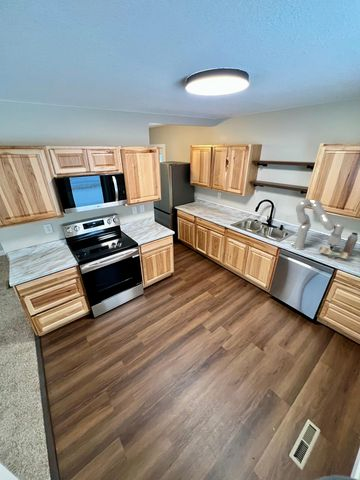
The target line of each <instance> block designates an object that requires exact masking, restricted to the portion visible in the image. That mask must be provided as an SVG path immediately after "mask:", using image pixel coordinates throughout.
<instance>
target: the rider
mask: <svg viewBox="0 0 360 480" xmlns="http://www.w3.org/2000/svg"><path fill="white" fill-rule="evenodd" d="M332 250H333V252H338V253H339V251H341V247H339V246H335V247H334V248H333V249H332Z"/></svg>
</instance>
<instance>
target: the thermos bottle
mask: <svg viewBox="0 0 360 480" xmlns="http://www.w3.org/2000/svg"><path fill="white" fill-rule="evenodd" d="M358 235H359V234H358V233H357V232H351V234H350V235H349V236H348V237H347V240H346V242H345V245H344V247H343V250H342V252H345V253H348V257H349V258H350V257H351V256H352V253H353V251H354V249H355V246H356V244H357V242H358V239H359V238H358Z"/></svg>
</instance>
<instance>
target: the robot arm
mask: <svg viewBox="0 0 360 480" xmlns="http://www.w3.org/2000/svg"><path fill="white" fill-rule="evenodd" d="M308 207H309V208H311V210H313V212H314V213H315V214H316V216H317V217H318V220H319V222H320V223H321V225H322V226H323V228H324V229H326V231H332V232H330V235H329V238H328V240H327V244H328V245H329V246H330V247H329V249H330V250H334V247H339V246H340V243H341V240H342V233H343V231H344V227H345V224H343V223H339V222H336V221H330V220H329V218H328V213H327V211H326V210H325V208H324V207H323V203H322V201H319V200H315V199H309V198H306V199H304V200H302V201H300V202H299V203H298V204H297V205H296V206H295V212H296V217H297V221H298V223H299V224H300V225H299V227H298V231H297V234H296V239H295V242H290V245H292V248H293V249H295V250H298V251H304V250H305V247H304V246H305V242H306V239H307V236H308V231H309V230H310V229H311V226H312V224H311V219H310V216H309V215H308V214H307V213H306V210H305V209H306V208H308Z"/></svg>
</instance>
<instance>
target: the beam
mask: <svg viewBox="0 0 360 480" xmlns="http://www.w3.org/2000/svg"><path fill="white" fill-rule="evenodd" d="M318 249H319V250H318V253H321V254H325V255H327V258H329V259H332V260H335V259H336V258H342V259H346V260H347V259H348V253H345V252H343V251H341V250H340V251H339V253H338V252H333V250H334V249H332V250H330V248H326V247H323V246H320V247H319V248H318Z"/></svg>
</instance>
